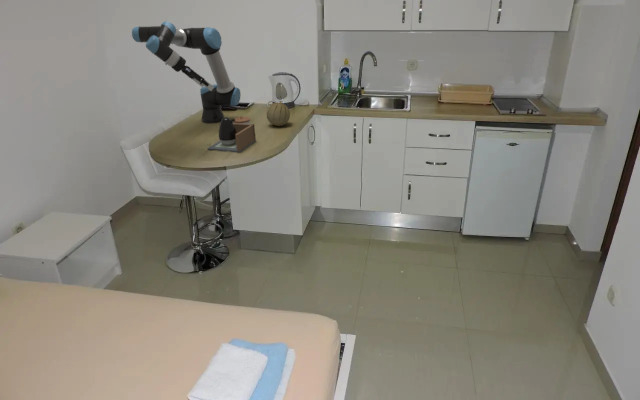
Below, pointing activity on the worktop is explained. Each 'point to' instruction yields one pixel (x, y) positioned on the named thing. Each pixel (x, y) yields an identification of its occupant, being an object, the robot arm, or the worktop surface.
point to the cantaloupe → (278, 114)
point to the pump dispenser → (227, 131)
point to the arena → (238, 139)
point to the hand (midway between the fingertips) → (208, 87)
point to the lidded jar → (242, 120)
